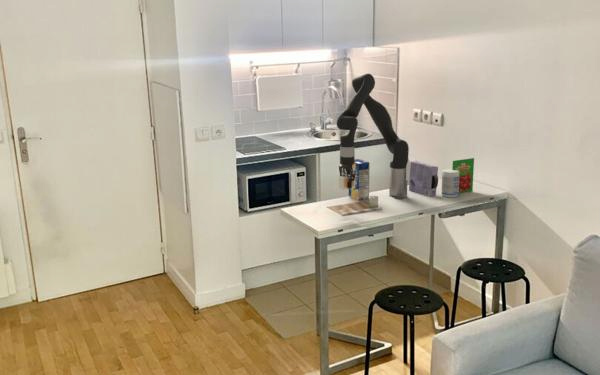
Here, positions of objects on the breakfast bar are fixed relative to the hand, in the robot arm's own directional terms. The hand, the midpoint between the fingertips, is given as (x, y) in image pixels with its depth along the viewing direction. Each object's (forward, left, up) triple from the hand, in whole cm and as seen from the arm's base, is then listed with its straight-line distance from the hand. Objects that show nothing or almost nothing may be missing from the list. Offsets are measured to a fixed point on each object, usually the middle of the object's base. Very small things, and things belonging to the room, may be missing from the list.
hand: (347, 187), depth 337 cm
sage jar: (-16, +2, -13) cm, 20 cm away
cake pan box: (-58, -13, -15) cm, 61 cm away
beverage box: (-19, -20, -14) cm, 31 cm away
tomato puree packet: (-77, -2, -14) cm, 79 cm away
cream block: (0, 0, -1) cm, 1 cm away
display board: (-6, -3, -14) cm, 16 cm away
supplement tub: (-68, -1, -14) cm, 69 cm away
